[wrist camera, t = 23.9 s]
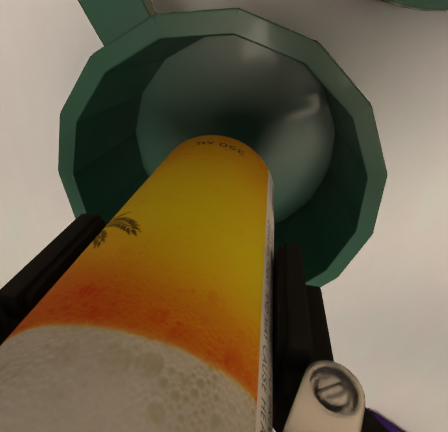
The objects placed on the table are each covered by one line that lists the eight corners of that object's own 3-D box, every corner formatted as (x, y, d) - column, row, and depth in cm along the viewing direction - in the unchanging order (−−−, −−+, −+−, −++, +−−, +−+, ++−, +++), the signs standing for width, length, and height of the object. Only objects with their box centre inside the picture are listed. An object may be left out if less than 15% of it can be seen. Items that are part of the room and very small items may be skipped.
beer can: (151, 137, 15) (-420, 615, 3) (269, 122, 14) (220, 880, 1) (178, 233, 18) (-33, 672, 6) (277, 228, 17) (285, 775, 4)
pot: (285, -103, 15) (295, -232, 8) (375, 228, 24) (419, 313, 16) (63, 50, 20) (-55, 60, 13) (204, 273, 29) (181, 353, 22)
